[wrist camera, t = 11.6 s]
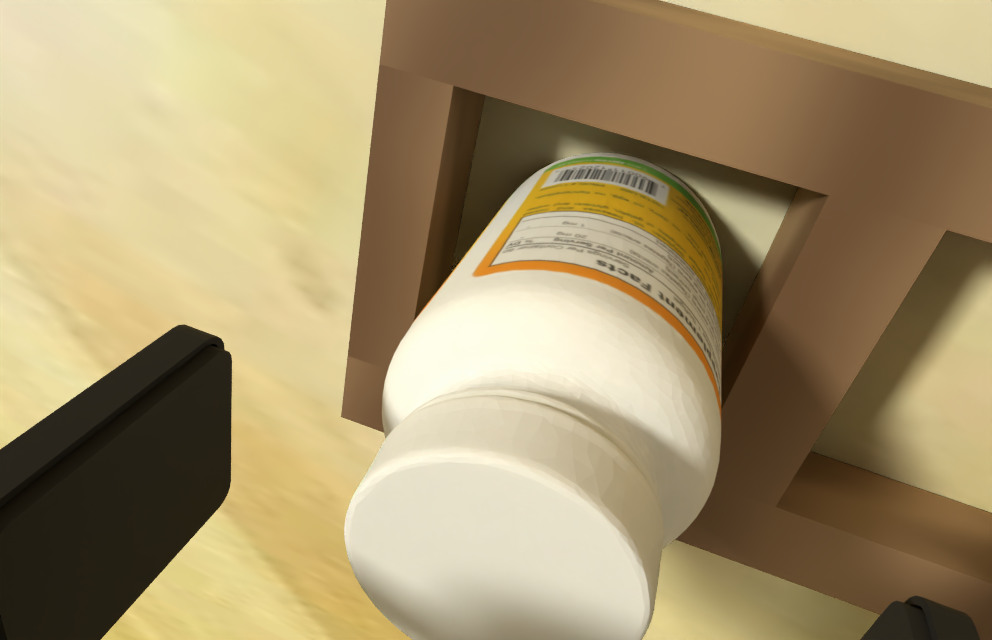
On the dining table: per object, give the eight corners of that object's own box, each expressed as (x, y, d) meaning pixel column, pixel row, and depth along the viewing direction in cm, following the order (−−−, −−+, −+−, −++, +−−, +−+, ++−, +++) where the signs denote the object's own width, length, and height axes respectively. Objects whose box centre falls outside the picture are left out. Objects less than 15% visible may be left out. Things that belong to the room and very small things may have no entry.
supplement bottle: (576, 385, 19) (461, 745, 11) (453, 224, 17) (215, 495, 9) (768, 296, 16) (808, 686, 8) (640, 97, 15) (533, 322, 7)
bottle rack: (1488, 220, 12) (1651, 286, 10) (1069, 608, 18) (1114, 700, 16) (441, -57, 14) (391, -53, 12) (380, 365, 20) (341, 416, 18)
